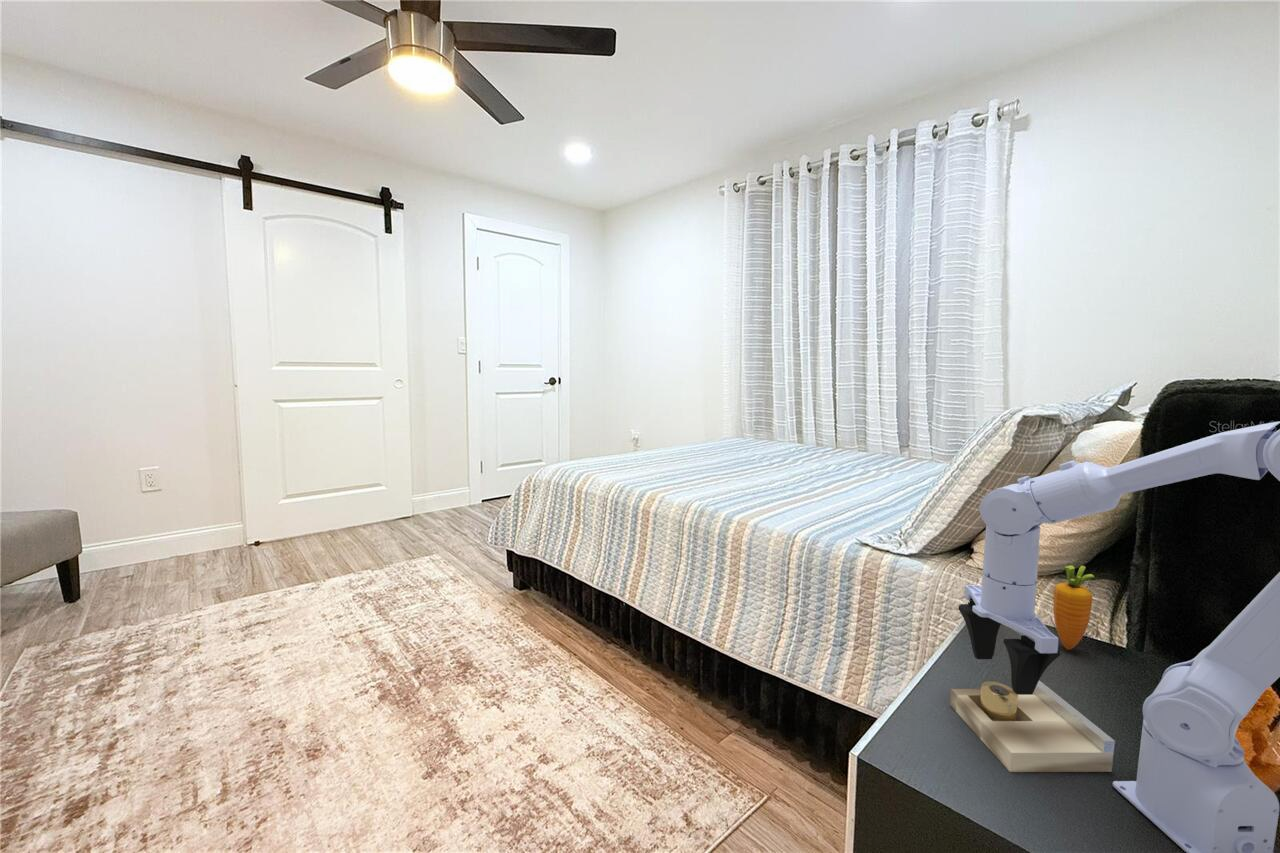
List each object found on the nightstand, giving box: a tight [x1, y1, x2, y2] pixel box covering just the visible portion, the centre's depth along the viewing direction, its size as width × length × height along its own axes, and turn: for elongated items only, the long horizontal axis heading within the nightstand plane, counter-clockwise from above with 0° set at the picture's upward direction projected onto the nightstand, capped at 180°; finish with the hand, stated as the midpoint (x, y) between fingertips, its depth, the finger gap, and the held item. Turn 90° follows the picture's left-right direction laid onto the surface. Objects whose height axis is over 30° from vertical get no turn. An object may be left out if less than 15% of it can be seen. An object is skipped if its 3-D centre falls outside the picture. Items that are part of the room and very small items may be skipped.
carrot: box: [1053, 565, 1095, 651], centre depth 85 cm, size 5×5×15 cm
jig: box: [949, 679, 1116, 773], centre depth 66 cm, size 12×12×4 cm
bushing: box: [980, 680, 1018, 721], centre depth 68 cm, size 4×4×5 cm
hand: (1001, 674), depth 68 cm, fingers open, 7 cm apart
